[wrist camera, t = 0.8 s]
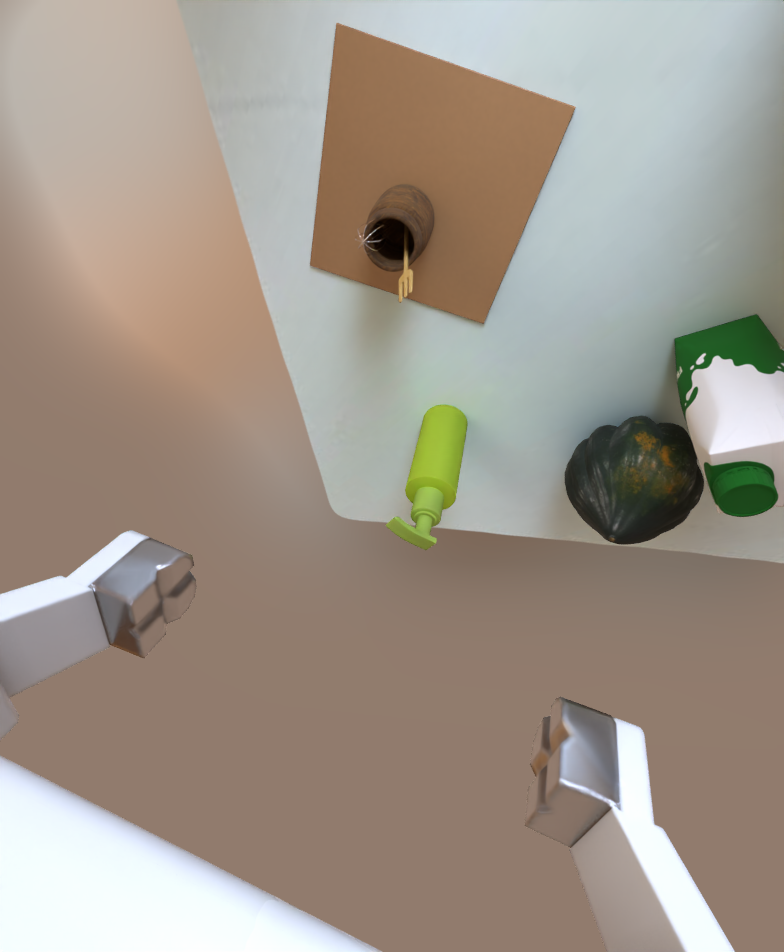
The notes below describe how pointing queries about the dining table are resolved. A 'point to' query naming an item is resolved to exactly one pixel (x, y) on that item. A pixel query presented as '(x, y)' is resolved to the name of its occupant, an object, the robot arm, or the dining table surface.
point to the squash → (634, 479)
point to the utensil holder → (398, 231)
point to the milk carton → (735, 412)
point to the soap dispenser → (433, 473)
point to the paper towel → (430, 167)
